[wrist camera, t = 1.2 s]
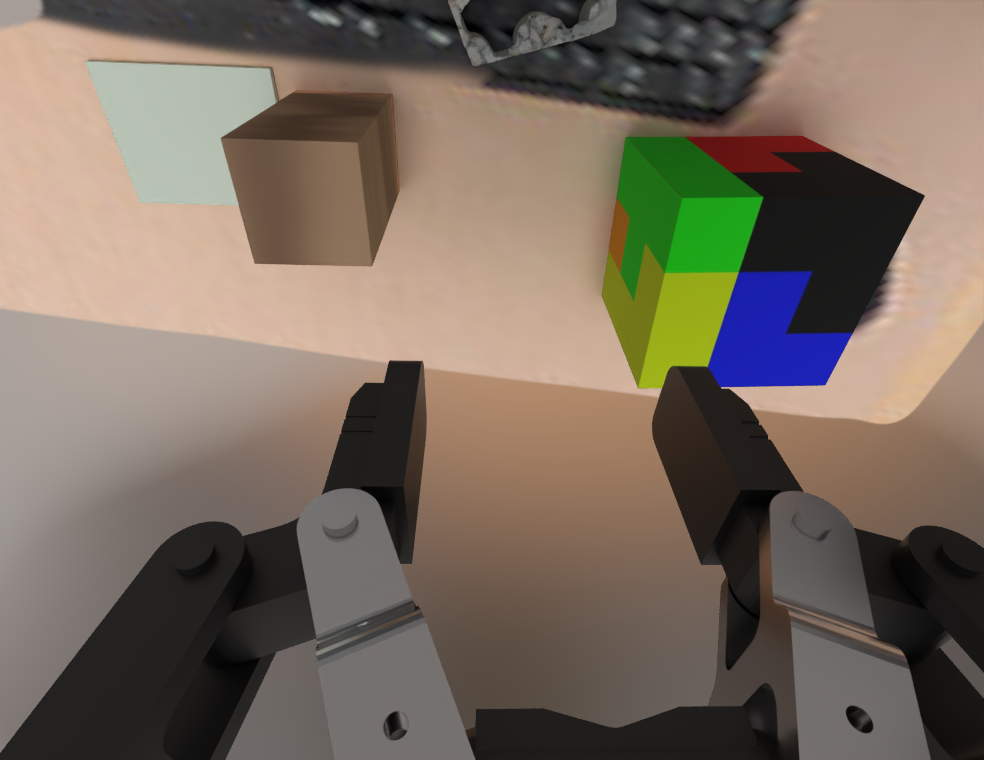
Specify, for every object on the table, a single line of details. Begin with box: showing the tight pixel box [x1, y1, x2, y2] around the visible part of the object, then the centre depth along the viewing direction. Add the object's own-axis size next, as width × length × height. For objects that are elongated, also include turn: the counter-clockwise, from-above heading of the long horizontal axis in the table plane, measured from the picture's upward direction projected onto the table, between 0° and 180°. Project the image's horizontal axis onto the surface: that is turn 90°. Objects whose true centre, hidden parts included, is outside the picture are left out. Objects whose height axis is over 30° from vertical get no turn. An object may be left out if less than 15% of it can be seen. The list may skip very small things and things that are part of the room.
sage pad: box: [85, 60, 279, 205], centre depth 28 cm, size 9×7×1 cm
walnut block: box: [221, 91, 400, 266], centre depth 24 cm, size 5×5×10 cm
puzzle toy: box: [602, 136, 925, 388], centre depth 28 cm, size 10×10×10 cm
